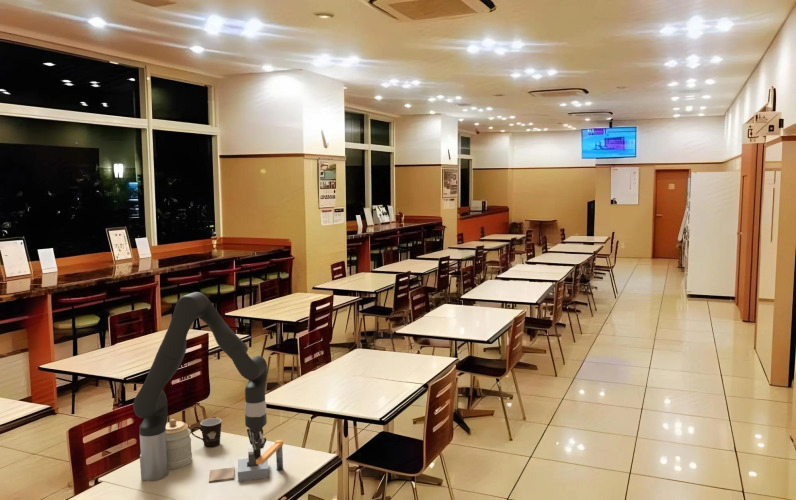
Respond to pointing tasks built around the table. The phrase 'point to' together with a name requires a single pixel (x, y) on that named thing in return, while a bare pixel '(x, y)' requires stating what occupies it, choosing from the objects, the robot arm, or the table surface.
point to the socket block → (251, 470)
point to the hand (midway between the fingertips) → (257, 458)
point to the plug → (251, 458)
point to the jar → (178, 444)
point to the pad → (221, 474)
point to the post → (279, 459)
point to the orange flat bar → (269, 452)
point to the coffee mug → (210, 432)
